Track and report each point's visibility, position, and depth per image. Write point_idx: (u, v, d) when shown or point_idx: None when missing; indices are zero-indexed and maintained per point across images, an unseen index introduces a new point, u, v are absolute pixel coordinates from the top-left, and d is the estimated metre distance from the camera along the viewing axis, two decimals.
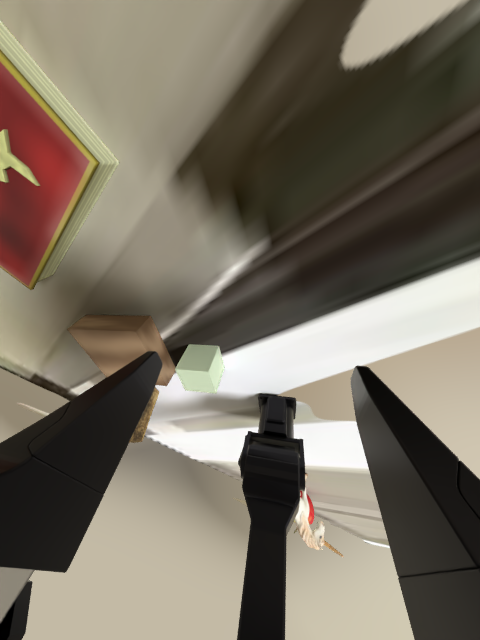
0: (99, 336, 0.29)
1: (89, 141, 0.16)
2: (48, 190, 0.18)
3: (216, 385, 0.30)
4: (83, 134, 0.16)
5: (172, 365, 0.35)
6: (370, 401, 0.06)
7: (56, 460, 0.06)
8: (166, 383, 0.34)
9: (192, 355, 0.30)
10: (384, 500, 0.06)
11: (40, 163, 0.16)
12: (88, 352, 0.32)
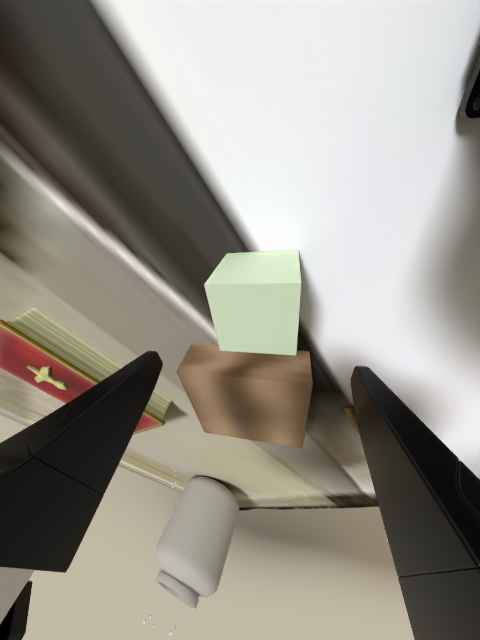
0: (204, 412, 0.22)
1: None
2: (49, 363, 0.23)
3: (284, 276, 0.10)
4: None
5: None
6: (370, 401, 0.06)
7: (56, 460, 0.06)
8: (306, 381, 0.16)
9: None
10: (384, 500, 0.06)
11: (33, 358, 0.23)
12: (240, 435, 0.24)
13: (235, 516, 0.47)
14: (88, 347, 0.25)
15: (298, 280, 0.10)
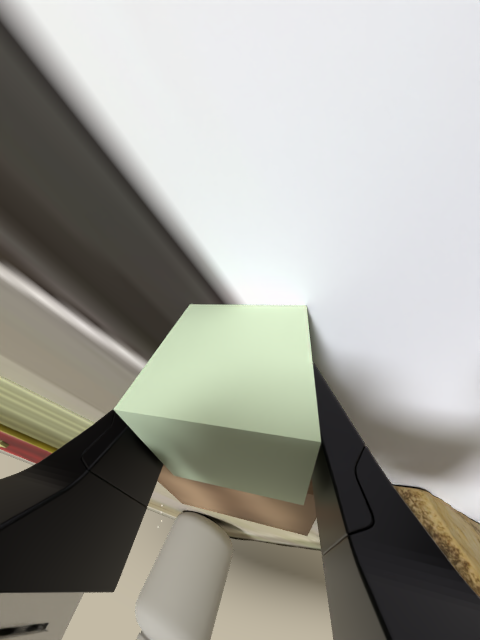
0: (178, 490, 0.17)
1: None
2: None
3: (280, 399, 0.05)
4: None
5: None
6: None
7: (108, 473, 0.06)
8: None
9: None
10: (314, 486, 0.06)
11: None
12: (226, 513, 0.19)
13: (228, 561, 0.41)
14: (26, 394, 0.19)
15: (313, 427, 0.04)
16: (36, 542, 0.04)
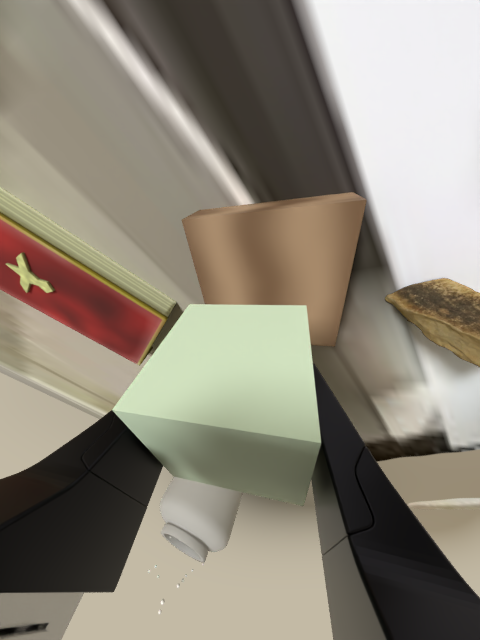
0: (216, 299, 0.18)
1: None
2: (20, 245, 0.19)
3: (280, 400, 0.05)
4: None
5: (331, 195, 0.14)
6: None
7: (109, 473, 0.06)
8: (357, 200, 0.12)
9: None
10: (314, 486, 0.06)
11: (5, 244, 0.20)
12: None
13: None
14: (65, 232, 0.21)
15: (313, 428, 0.04)
16: (36, 542, 0.04)
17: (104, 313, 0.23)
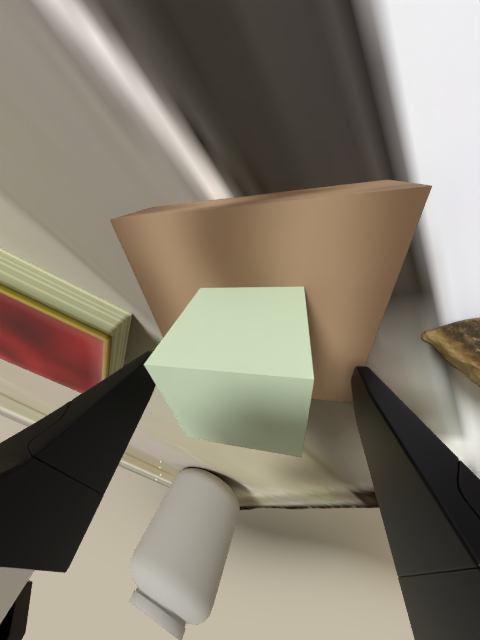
0: None
1: None
2: None
3: (281, 353, 0.06)
4: None
5: (353, 185, 0.09)
6: (370, 401, 0.06)
7: (56, 460, 0.06)
8: (412, 187, 0.06)
9: None
10: (384, 500, 0.06)
11: None
12: None
13: (234, 517, 0.37)
14: None
15: (308, 370, 0.05)
16: None
17: (34, 339, 0.17)
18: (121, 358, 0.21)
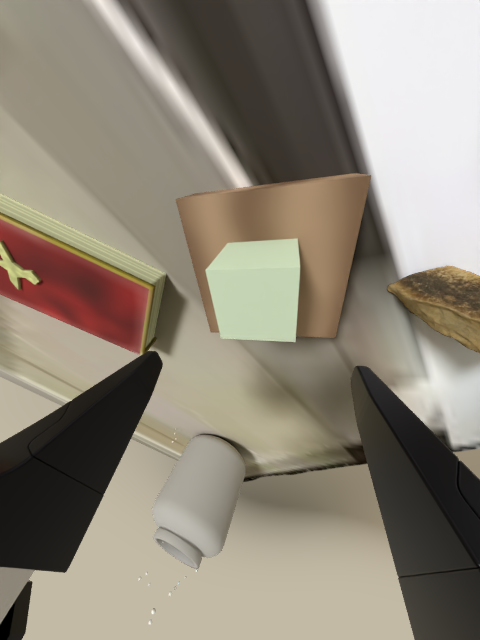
0: None
1: None
2: None
3: (283, 261, 0.11)
4: None
5: (332, 176, 0.14)
6: (370, 401, 0.06)
7: (56, 460, 0.06)
8: (361, 176, 0.11)
9: None
10: (384, 500, 0.06)
11: None
12: None
13: (242, 475, 0.42)
14: (42, 216, 0.20)
15: (297, 265, 0.10)
16: None
17: (93, 296, 0.21)
18: (155, 317, 0.25)
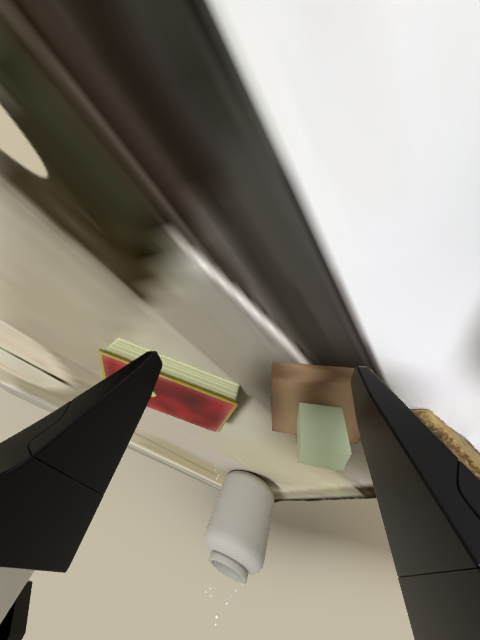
0: (280, 414, 0.28)
1: None
2: None
3: (341, 443, 0.21)
4: None
5: None
6: (370, 401, 0.06)
7: (56, 460, 0.06)
8: None
9: None
10: (384, 500, 0.06)
11: None
12: None
13: (272, 505, 0.53)
14: (159, 355, 0.31)
15: (349, 450, 0.21)
16: None
17: (192, 404, 0.32)
18: None
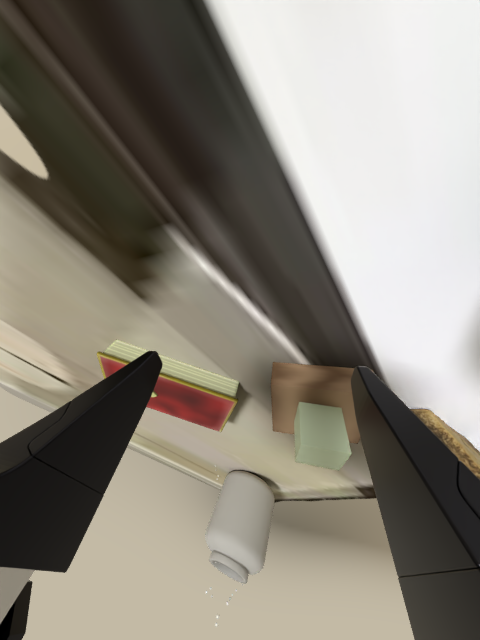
0: (281, 415, 0.28)
1: None
2: None
3: (341, 443, 0.21)
4: None
5: None
6: (370, 401, 0.06)
7: (56, 460, 0.06)
8: None
9: (296, 432, 0.26)
10: (384, 500, 0.06)
11: None
12: None
13: (272, 505, 0.53)
14: None
15: (349, 450, 0.21)
16: None
17: (192, 403, 0.31)
18: None
